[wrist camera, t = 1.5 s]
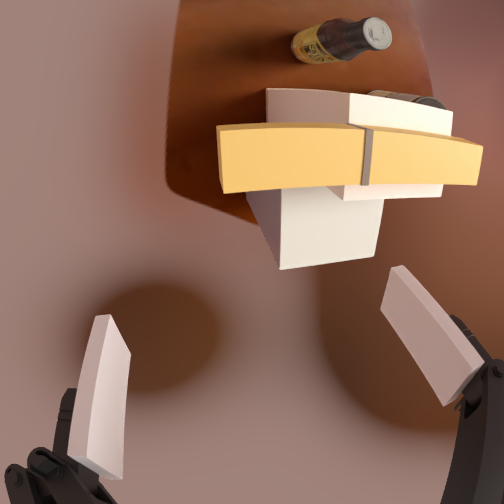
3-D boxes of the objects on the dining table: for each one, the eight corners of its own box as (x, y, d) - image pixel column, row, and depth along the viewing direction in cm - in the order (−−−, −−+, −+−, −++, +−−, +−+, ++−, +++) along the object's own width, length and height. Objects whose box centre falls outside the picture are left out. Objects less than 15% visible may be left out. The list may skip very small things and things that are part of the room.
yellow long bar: (219, 180, 21) (224, 195, 18) (216, 124, 19) (219, 130, 16) (456, 175, 24) (476, 186, 22) (462, 137, 22) (483, 146, 20)
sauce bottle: (283, 56, 39) (340, 39, 22) (295, 25, 36) (356, -5, 19) (319, 71, 41) (390, 68, 24) (330, 41, 38) (403, 26, 22)
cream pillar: (266, 143, 46) (340, 203, 24) (265, 88, 41) (347, 90, 19) (334, 142, 48) (441, 198, 25) (336, 91, 43) (454, 110, 20)
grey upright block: (246, 198, 51) (280, 269, 32) (244, 141, 46) (281, 181, 27) (311, 193, 52) (373, 256, 34) (313, 139, 47) (387, 177, 29)
